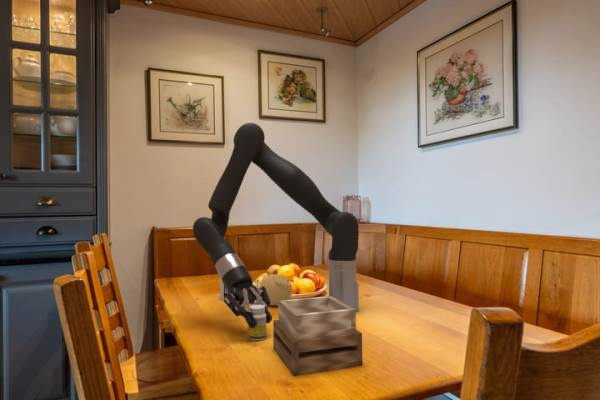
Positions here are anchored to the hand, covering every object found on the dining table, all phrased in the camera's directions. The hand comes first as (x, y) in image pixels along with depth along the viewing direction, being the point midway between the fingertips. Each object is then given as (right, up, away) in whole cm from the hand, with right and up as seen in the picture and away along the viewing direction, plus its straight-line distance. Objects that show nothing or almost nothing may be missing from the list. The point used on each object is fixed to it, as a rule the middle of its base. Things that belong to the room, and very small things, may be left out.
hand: (262, 323), depth 101 cm
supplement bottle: (-1, -4, +1) cm, 5 cm away
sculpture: (+1, -5, +37) cm, 37 cm away
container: (-16, -5, +46) cm, 49 cm away
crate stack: (+14, -4, -12) cm, 18 cm away
